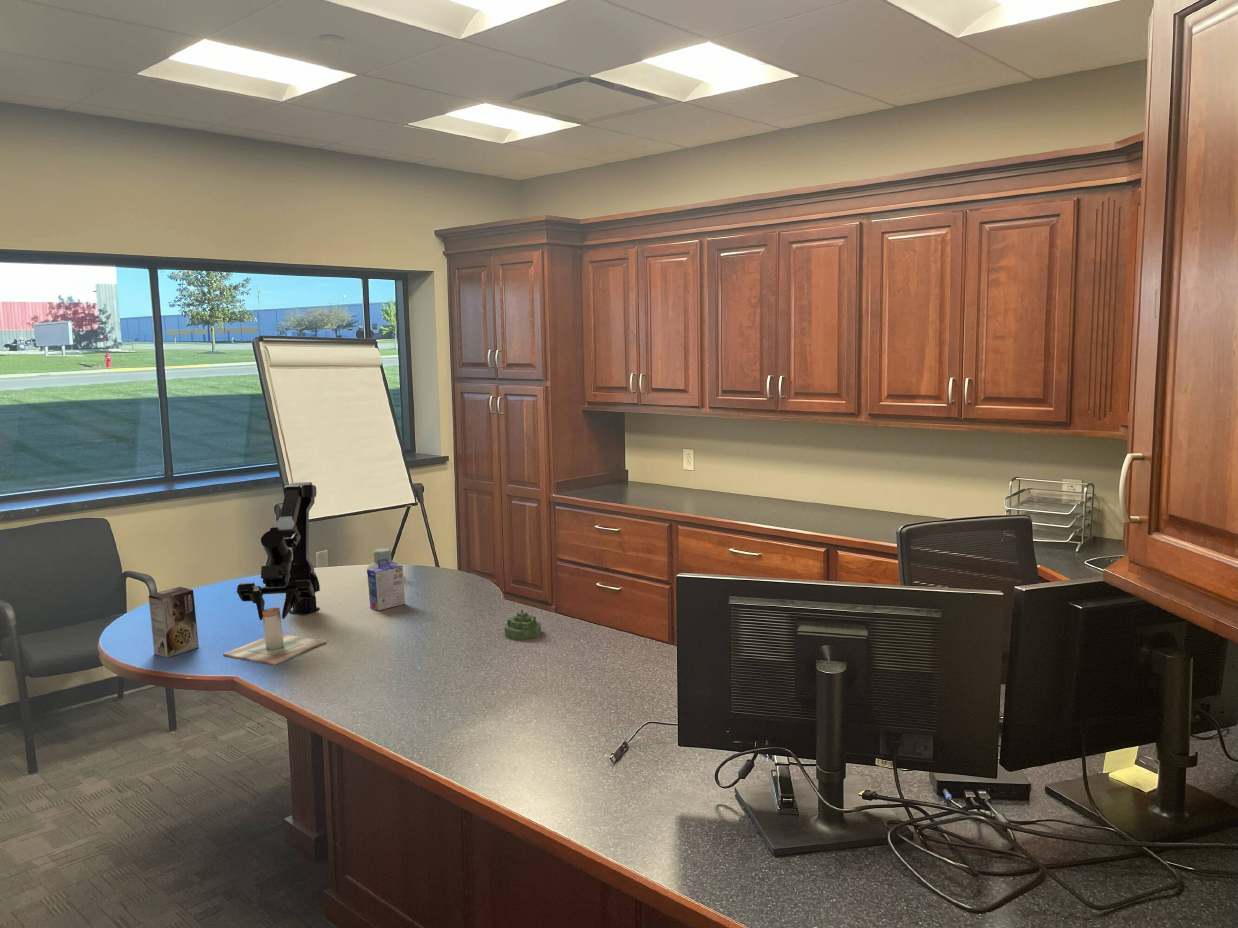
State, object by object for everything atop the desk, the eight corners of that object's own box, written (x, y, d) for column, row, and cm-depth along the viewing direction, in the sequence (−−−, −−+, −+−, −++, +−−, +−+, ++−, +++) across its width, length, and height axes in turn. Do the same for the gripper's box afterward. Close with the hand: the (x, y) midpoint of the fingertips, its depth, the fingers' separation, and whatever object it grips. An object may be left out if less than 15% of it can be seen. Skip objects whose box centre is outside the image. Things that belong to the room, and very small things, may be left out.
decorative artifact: (513, 627, 253) (498, 638, 244) (512, 603, 252) (497, 613, 243) (546, 630, 250) (532, 641, 241) (545, 605, 249) (531, 616, 240)
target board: (223, 655, 234) (223, 653, 234) (276, 634, 250) (276, 632, 250) (274, 664, 226) (274, 662, 226) (325, 642, 242) (325, 640, 242)
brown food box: (184, 643, 244) (179, 586, 242) (199, 647, 241) (194, 589, 238) (152, 654, 236) (147, 594, 234) (167, 658, 233) (162, 597, 231)
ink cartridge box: (396, 600, 281) (394, 555, 279) (406, 604, 277) (404, 558, 275) (368, 607, 274) (365, 561, 272) (378, 611, 270) (375, 564, 268)
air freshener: (392, 573, 315) (391, 545, 314) (403, 577, 309) (402, 549, 308) (363, 578, 308) (361, 550, 307) (374, 583, 302) (372, 554, 301)
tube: (264, 646, 239) (260, 609, 237) (281, 642, 241) (277, 606, 240) (267, 650, 235) (263, 613, 234) (285, 646, 237) (281, 610, 236)
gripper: (235, 553, 237) (226, 606, 228) (308, 550, 240) (302, 602, 230) (246, 574, 246) (237, 626, 237) (316, 571, 248) (310, 622, 239)
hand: (271, 618), depth 236 cm, fingers open, 5 cm apart
